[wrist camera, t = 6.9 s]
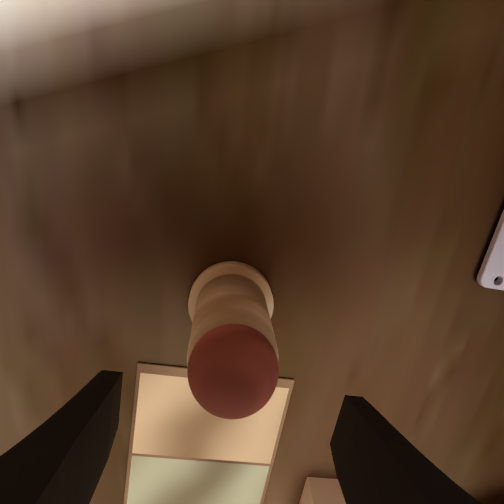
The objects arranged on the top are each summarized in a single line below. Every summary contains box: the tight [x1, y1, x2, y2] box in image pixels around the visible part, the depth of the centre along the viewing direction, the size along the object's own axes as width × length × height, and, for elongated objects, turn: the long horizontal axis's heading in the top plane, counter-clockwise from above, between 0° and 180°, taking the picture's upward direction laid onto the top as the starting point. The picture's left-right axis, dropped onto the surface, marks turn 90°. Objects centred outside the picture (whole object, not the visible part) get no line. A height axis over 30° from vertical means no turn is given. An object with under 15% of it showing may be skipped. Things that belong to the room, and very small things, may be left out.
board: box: [124, 362, 295, 504], centre depth 23 cm, size 9×19×1 cm, turn 170°
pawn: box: [187, 261, 279, 420], centre depth 15 cm, size 4×4×8 cm
